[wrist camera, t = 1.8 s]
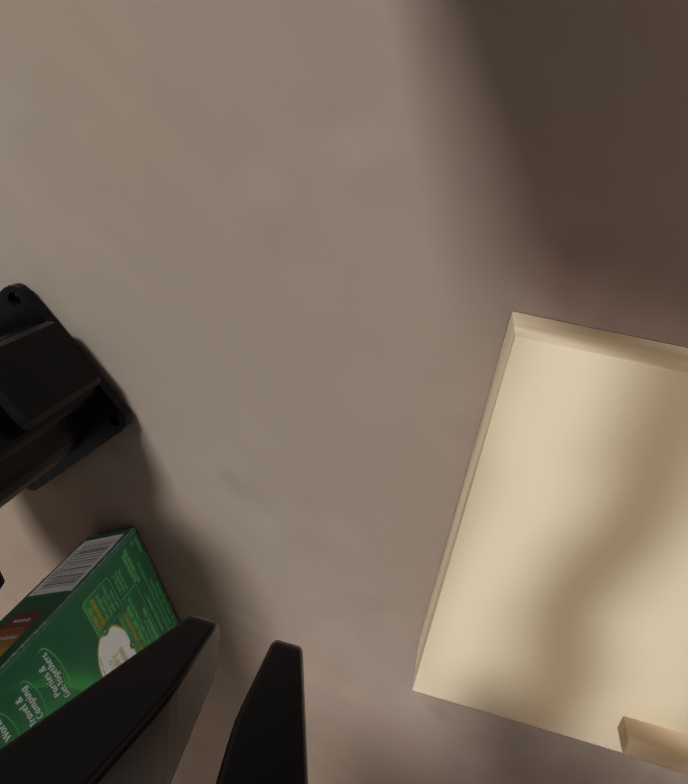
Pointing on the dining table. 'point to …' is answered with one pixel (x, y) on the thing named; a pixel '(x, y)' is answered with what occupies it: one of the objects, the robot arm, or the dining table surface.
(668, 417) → the board
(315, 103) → the dining table surface
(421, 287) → the dining table surface
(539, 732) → the dining table surface
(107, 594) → the coffee box
